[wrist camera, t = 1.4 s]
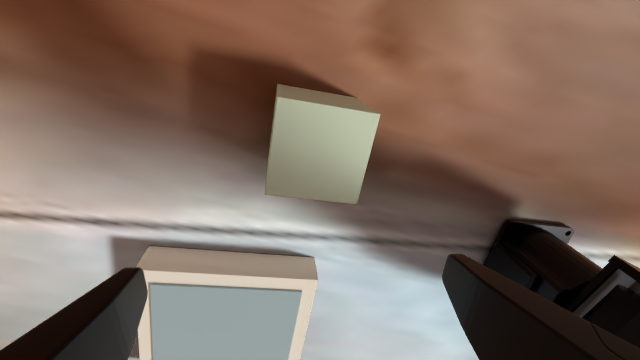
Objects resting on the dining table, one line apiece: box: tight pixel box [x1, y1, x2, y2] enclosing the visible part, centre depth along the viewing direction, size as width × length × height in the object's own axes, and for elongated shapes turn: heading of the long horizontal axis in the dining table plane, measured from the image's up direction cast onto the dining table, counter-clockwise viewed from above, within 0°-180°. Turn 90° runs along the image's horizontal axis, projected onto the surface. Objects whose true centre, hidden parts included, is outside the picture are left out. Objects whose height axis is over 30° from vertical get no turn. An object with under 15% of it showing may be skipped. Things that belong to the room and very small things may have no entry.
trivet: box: [136, 246, 318, 360], centre depth 24 cm, size 12×12×3 cm
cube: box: [265, 84, 380, 204], centre depth 18 cm, size 5×5×5 cm
